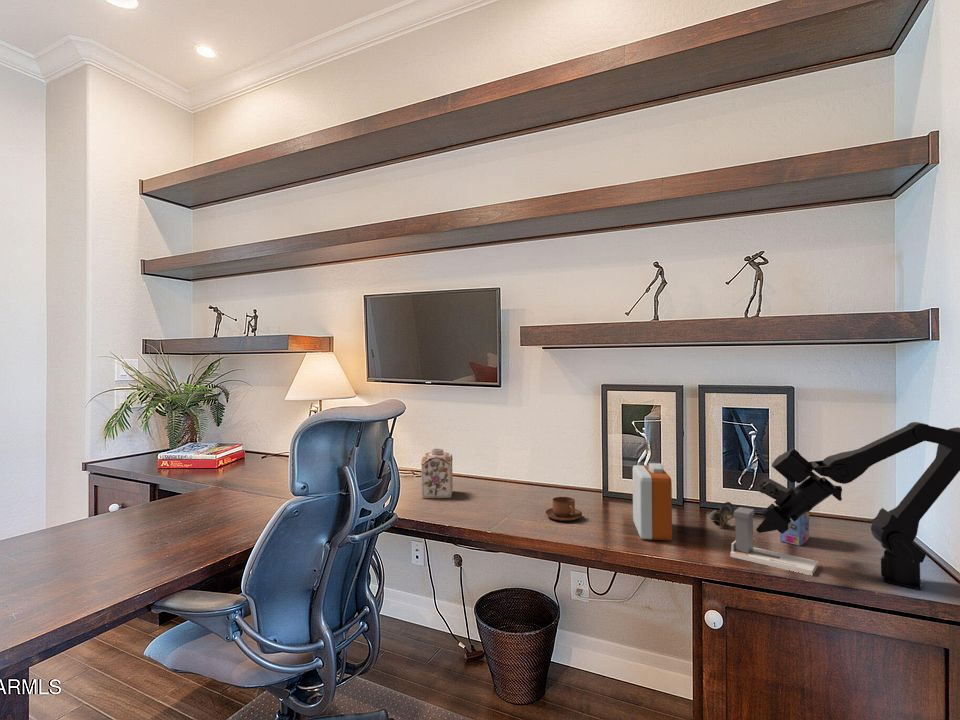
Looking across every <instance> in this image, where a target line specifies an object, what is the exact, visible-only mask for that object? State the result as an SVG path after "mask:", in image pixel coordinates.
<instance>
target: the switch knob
mask: <svg viewBox="0 0 960 720" xmlns="http://www.w3.org/2000/svg"><path fill="white" fill-rule="evenodd" d="M733 515H734V517H735V520H734V522H735V524H734V525H735V527H734V528H735V529H734V530H735V540H736V550H737V551H741V552H746V553H749V552H750V551H751V550H752V549H753V547H754V515H755V509H753V508H748V507H744V506H743V507H741V506H740V507H738V508H736V509H735V510H733Z"/></svg>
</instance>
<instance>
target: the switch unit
mask: <svg viewBox="0 0 960 720" xmlns="http://www.w3.org/2000/svg"><path fill="white" fill-rule="evenodd" d="M730 545H731V547H730V549H731V551H730V558H735V559H740V560H742V561H748V562H752V563H756V564H760V565H765V566H769V567H772V568H778V569H780V570H781V569H782V570H785V571H789V570H790V572H793V571H794V572H793V573H798V572H799V573H798V574H802V573H803V574H802V575H807V576H810V575H811V577H812V576H813V575H814V574H815V572H816V570H817V568H818V566H819V563H818V560H814V559H809V558H805V557H800V556H797V555H792V554H791V555H790V554H787V553H783V552H778V551H777V552H776V551H772V550H768V549H764V548H759V547H754V546H753V549H752V550H751V551H750V552H749V553H746V552H741V551H737V550H736V539H735V540H734V541H733V542H732V543H731V544H730ZM813 573H814V574H813Z"/></svg>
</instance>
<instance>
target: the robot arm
mask: <svg viewBox="0 0 960 720" xmlns="http://www.w3.org/2000/svg"><path fill="white" fill-rule="evenodd" d="M922 442H929V443H932V444H936V445H937V444H938V445H937V449H936V454H935V458H934V459H933V461H932V462H931V463H930V465H929V466H928V467H927V468H926V469H925V471H924V472H923V474H922V475H921V476H920V477H919V478H918V480H917V481H916V482H915V483H914V485H913V486H912V487H911V488H910V489H909V490H908V492H907V493H906V495H905V496H904V498H902V500H901V501H900V502H899V504H897V506H896V507H895V508H892V509H890V510H889V511H888V510H886V509H885V508H883V507H881V508H880V509H879V510H878V513H877V515H876V516H875V517H874V518H873V519H871V520H870V522H871V523H872V524H871V527H870V530H871V531H870V532H871V534H872V536H873V538H874V539H875V540H877V541H878V542H879V543H880V545H881V547H882V548H883V549H884V552H883V555H882V556H881V558H880V576H881V577H882V578H883V579H882V581H883V582H884V583H889V584H894V585H897V586H902V587H906V588H910V589H915V590H919V591H920V590H921V589H922V579H921V564H922V563H924V561H925V559H926V556H927V553H925V552H924V551H923V550H922V549H921V548H920V547H919V546H917V545H916V544H915V543H914V541H915V539H916V537H917V536H918V530H919V526H920V525H919V524H920V521H921V520H922V518H923V517H924V515H925V514H927V512H928V511H929V509H930V508H931V507H932V506H933V504H934V503H935V502H936V501H937V500H938V498H939V497H941V494H942V493H943V492H944V491H945V490H946V489H947V488H948V486H949V485H950V484H951V482H953V480H954V479H955V477H956V476H957V475H958V474H959V472H960V427H952V428H948V429H946V428H941V427H937V426H932V425H929V424H926V423H923V422H917V421H913V422H910V423H907V424H906V425H905V426H903V427H901V428H900V429H897V430H895V431H893V432H890V433H889V434H886V435H885V436H883V437H880V438H878V439H876V440H874V441H872V442H870V443H867V444H865V445H864V446H861V447H859V448H855V449H853V450H848V451H843V452H839V453H836V454H832V455H828V456H826V457H825V458H824V459H822V460H814V461H808V460H807V459H806V458H805V457H804V456H802V455H801V454H800V452H799V451H798V450H797V449H795V448H794V447H791V448H790V449H789V450H788V451H785V452H783V453H782V454H780V455H778V456H777V457H776V458H775V459H774V460H773V462H772V463H771V467H772V468H773V469H774V470H775V471H776V472H778V473H779V474H780V475H781V476H782V477H784V478H785V479H786V480H787V481H788V482H790V483H793V484H794V483H797V484H798V485H796V486H795V487H794V486H793V487H791V488H790V489H789V488H787V487H785V486H784V485H782V484H781V483H779V482H777V481H775V480H773V479H771V478H768V477H765V478H763V479H762V481H761V483H760V484H759V485H758V488H757V491H758V492H759V493H761V494H764V495H766V496H767V497H770V498H772V499H773V500H775V501H773V502H774V503H771V504H769V505H768V506H767V507H766V508H765V509H763V510H761V514H762V516H763V517H764V519H763V520H762V521H761V523H760V524H759V525H758V526H757V527H756V529H755V530H756V532H757V533H758V534H760V533H761V534H762V533H763V534H764V533H767V532H773V531H774V532H775V531H778V532H779V534H780V533H781V534H783V533H784V532H786V531H787V530H788V529H789V528H790V527H791V520H790V518H791V519H792V520H793V521H794V522H795V521H796V520H798V518H799V517H801V516H802V515H803V514H805V513H806V512H809V513H810V512H811V510H813V508H815V507H816V506H817V505H819V504H821V502H823V501H825V500H826V499H827V498H829V497H830V496H833V497H834V498H835V499H836V500H838V501H840V502H841V501H843V500H842V499H843V498H842V492H843V487H842V486H841V485H835V484H833V483H832V482H831V481H830V480H832V481H833V482H835V483H838V484H842V485H844V484H845V485H846V484H850V483H851V482H853V481H855V480H856V479H857V478H859V477H860V476H862V475H863V474H864V473H865V472H866V471H867V470H868V469H869V468H871V466H874V465H875V464H877V463H880V462H882V461H883V460H886V459H888V458H890V457H893V456H895V455H896V454H897V455H898V454H899V453H902V452H903V451H905V450H908V449H909V448H910V449H911V448H912V447H914V446H917V445H919V444H920V443H922ZM816 473H817V474H818V475H817V474H816ZM820 476H821V477H820ZM826 477H827V478H829V479H830V480H828V479H827V478H826Z"/></svg>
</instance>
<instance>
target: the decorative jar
mask: <svg viewBox="0 0 960 720" xmlns="http://www.w3.org/2000/svg"><path fill="white" fill-rule="evenodd" d="M420 463H421V466H420V467H421V469H420V472H421V474H420V475H421V477H420V479H421V483H420V485H421V489H420V490H421V499H451V498H452V495H453V473H454V472H453V454H452V453H449V452H444V448H440V447H437V448H432V449H431V452H426V453H423V454H422V456H421V462H420Z"/></svg>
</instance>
